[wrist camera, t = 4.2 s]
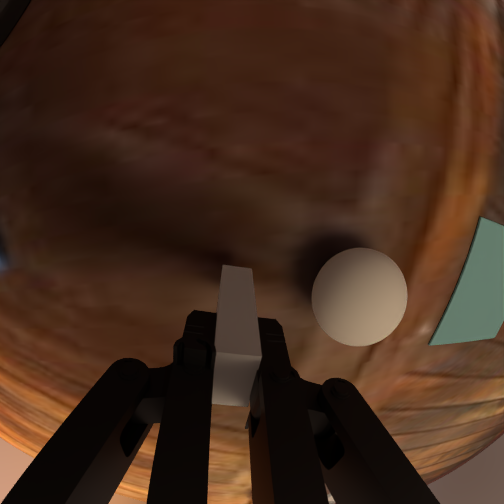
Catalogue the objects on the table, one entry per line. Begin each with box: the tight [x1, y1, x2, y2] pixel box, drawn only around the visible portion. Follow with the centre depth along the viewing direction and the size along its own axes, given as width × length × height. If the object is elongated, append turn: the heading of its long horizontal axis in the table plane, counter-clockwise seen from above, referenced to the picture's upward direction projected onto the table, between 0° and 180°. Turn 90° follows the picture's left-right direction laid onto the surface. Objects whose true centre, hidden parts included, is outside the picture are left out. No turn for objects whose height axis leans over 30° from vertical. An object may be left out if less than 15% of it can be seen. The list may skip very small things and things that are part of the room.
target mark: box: [429, 217, 504, 345], centre depth 19 cm, size 12×12×1 cm
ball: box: [312, 248, 407, 346], centre depth 15 cm, size 6×6×6 cm
